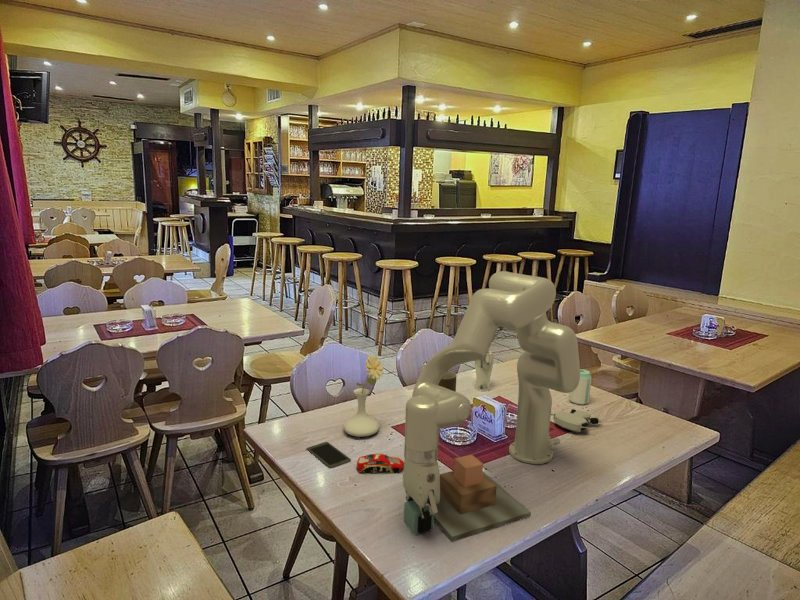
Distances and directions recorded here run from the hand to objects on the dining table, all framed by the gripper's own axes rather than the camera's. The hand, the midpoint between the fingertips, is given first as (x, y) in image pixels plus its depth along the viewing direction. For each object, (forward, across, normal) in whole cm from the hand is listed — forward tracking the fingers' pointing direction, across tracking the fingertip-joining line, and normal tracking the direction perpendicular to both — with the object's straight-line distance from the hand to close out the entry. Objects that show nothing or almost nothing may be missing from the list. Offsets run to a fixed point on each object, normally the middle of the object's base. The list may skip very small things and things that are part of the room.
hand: (418, 523), depth 118 cm
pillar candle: (+1, +53, -37) cm, 65 cm away
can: (+1, +40, -89) cm, 98 cm away
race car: (+1, +26, -2) cm, 26 cm away
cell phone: (+1, +39, +9) cm, 40 cm away
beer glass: (+1, +65, -63) cm, 91 cm away
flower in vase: (+1, +49, -6) cm, 49 cm away
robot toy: (+1, +25, -73) cm, 77 cm away
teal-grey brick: (+1, 0, 0) cm, 1 cm away
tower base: (+1, +3, -15) cm, 15 cm away
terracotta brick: (-6, +3, -15) cm, 16 cm away
